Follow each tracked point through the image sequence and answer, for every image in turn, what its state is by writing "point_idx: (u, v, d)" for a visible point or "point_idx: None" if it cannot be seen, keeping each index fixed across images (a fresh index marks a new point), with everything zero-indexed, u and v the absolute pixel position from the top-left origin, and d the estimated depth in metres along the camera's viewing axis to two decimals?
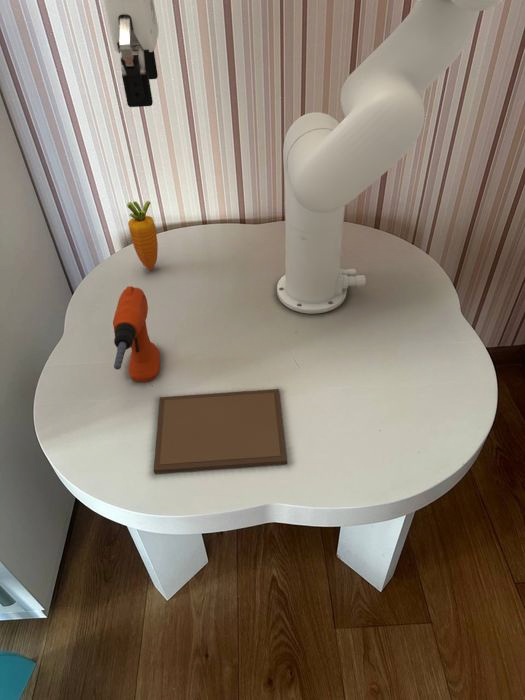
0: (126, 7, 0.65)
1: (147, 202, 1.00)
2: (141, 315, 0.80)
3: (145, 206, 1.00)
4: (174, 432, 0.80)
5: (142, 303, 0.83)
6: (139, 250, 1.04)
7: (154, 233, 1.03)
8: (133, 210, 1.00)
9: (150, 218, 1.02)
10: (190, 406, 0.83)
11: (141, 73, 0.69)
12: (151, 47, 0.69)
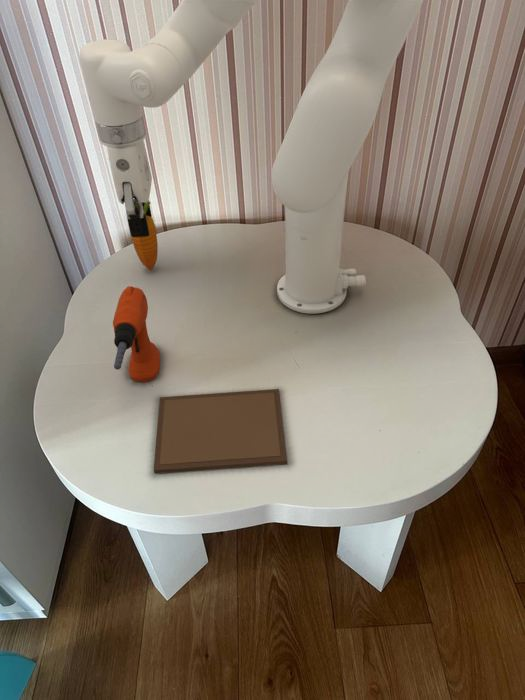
0: (127, 177, 0.90)
1: (147, 202, 1.00)
2: (141, 315, 0.80)
3: (145, 206, 1.00)
4: (174, 432, 0.80)
5: (142, 303, 0.83)
6: (139, 250, 1.04)
7: (154, 233, 1.03)
8: None
9: (150, 218, 1.02)
10: (190, 406, 0.83)
11: (141, 218, 0.97)
12: (146, 200, 0.94)
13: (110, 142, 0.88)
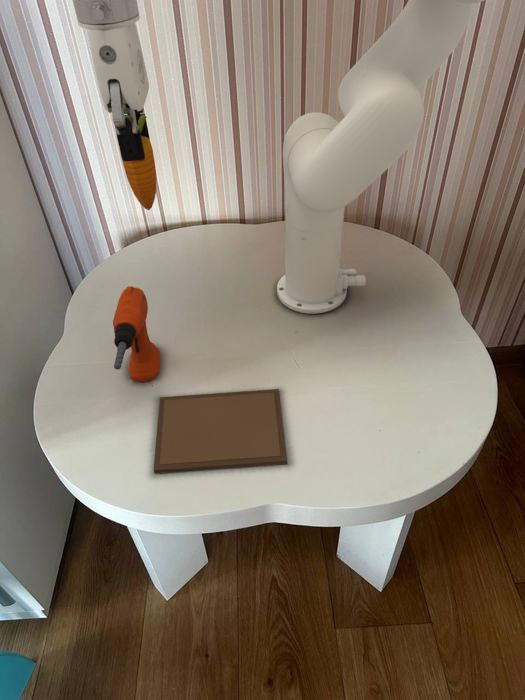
0: (114, 72, 0.69)
1: (142, 116, 0.78)
2: (141, 315, 0.80)
3: (140, 121, 0.79)
4: (174, 432, 0.80)
5: (142, 303, 0.83)
6: (133, 181, 0.83)
7: (151, 158, 0.82)
8: None
9: (146, 139, 0.81)
10: (190, 406, 0.83)
11: (134, 133, 0.76)
12: (139, 107, 0.73)
13: (91, 22, 0.67)
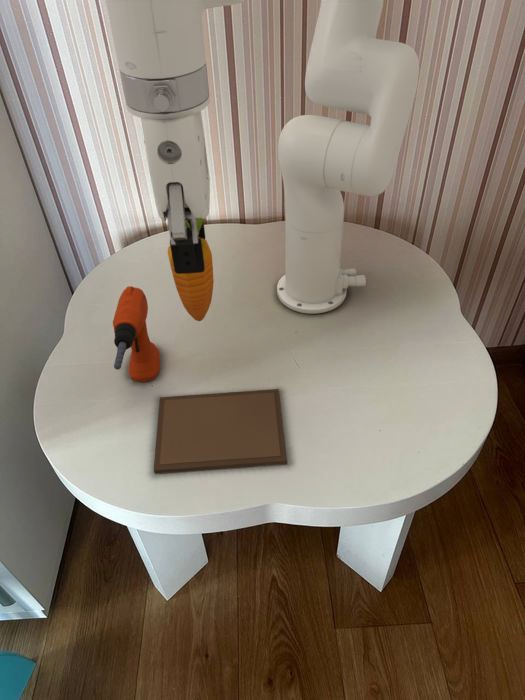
0: (177, 174, 0.51)
1: None
2: (141, 315, 0.80)
3: (197, 222, 0.60)
4: (174, 432, 0.80)
5: (142, 303, 0.83)
6: (185, 293, 0.64)
7: (210, 266, 0.63)
8: None
9: (204, 242, 0.62)
10: (190, 406, 0.83)
11: (194, 243, 0.57)
12: (205, 215, 0.54)
13: (148, 110, 0.48)
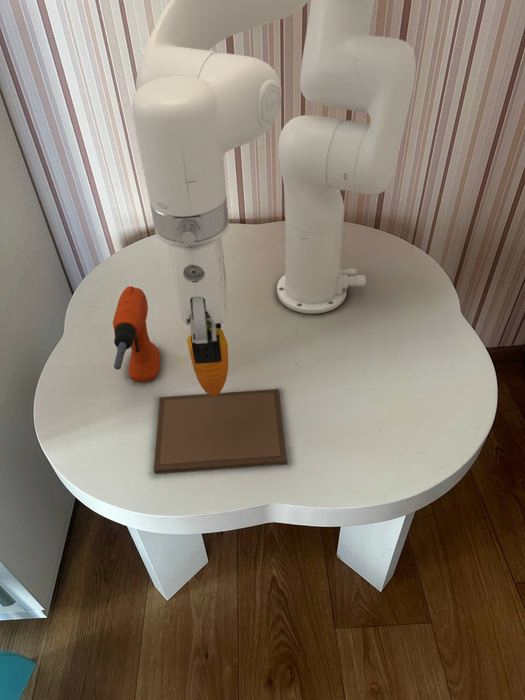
0: (200, 291, 0.57)
1: None
2: (141, 315, 0.80)
3: None
4: (174, 432, 0.80)
5: (142, 303, 0.83)
6: (203, 377, 0.70)
7: (225, 353, 0.69)
8: None
9: (220, 332, 0.68)
10: (190, 406, 0.83)
11: (213, 341, 0.63)
12: (224, 320, 0.60)
13: (175, 239, 0.54)
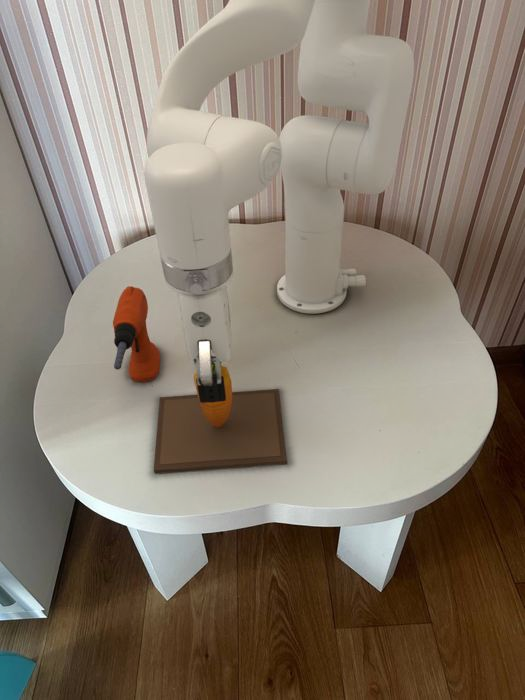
0: (206, 334, 0.61)
1: None
2: (141, 315, 0.80)
3: None
4: (174, 432, 0.80)
5: (142, 303, 0.83)
6: (208, 411, 0.75)
7: (230, 389, 0.74)
8: None
9: (225, 370, 0.73)
10: (190, 406, 0.83)
11: (218, 383, 0.65)
12: (229, 359, 0.65)
13: (184, 289, 0.59)
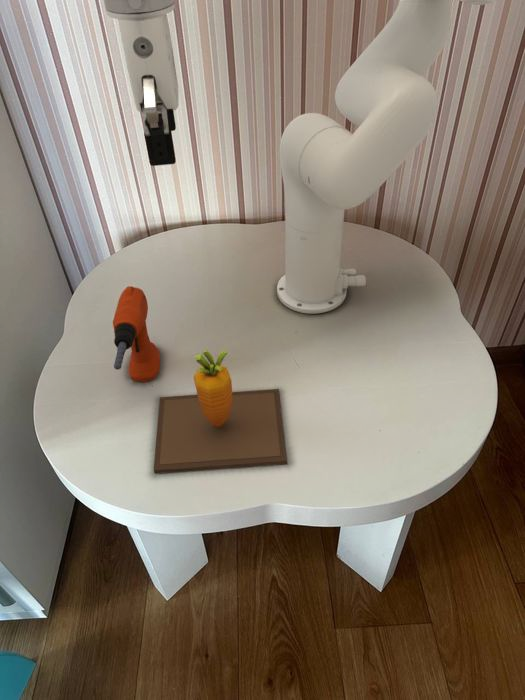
0: (150, 68, 0.62)
1: (223, 353, 0.71)
2: (141, 315, 0.80)
3: (220, 357, 0.71)
4: (174, 432, 0.80)
5: (142, 303, 0.83)
6: (208, 411, 0.75)
7: (230, 389, 0.74)
8: (203, 364, 0.71)
9: (225, 370, 0.73)
10: (190, 406, 0.83)
11: (165, 133, 0.66)
12: (175, 106, 0.65)
13: (124, 11, 0.59)
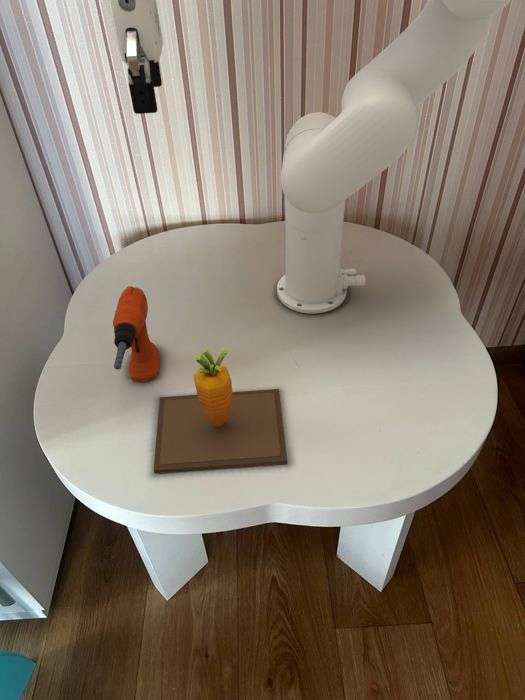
0: (133, 21, 0.70)
1: (223, 353, 0.71)
2: (141, 315, 0.80)
3: (220, 357, 0.71)
4: (174, 432, 0.80)
5: (142, 303, 0.83)
6: (208, 411, 0.75)
7: (230, 389, 0.74)
8: (203, 364, 0.71)
9: (225, 370, 0.73)
10: (190, 406, 0.83)
11: (147, 82, 0.74)
12: (156, 58, 0.73)
13: None
